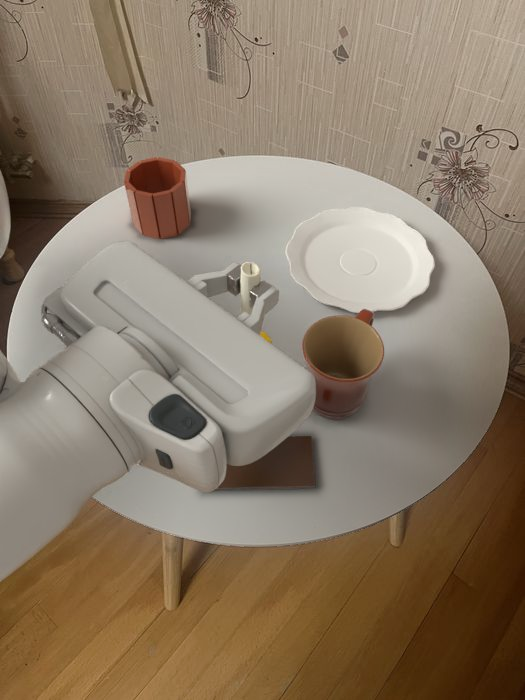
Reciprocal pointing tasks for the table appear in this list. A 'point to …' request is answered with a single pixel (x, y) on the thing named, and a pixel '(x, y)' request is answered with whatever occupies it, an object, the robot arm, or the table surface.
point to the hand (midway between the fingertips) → (258, 281)
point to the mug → (342, 361)
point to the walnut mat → (276, 468)
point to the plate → (360, 259)
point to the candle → (247, 282)
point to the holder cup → (158, 197)
